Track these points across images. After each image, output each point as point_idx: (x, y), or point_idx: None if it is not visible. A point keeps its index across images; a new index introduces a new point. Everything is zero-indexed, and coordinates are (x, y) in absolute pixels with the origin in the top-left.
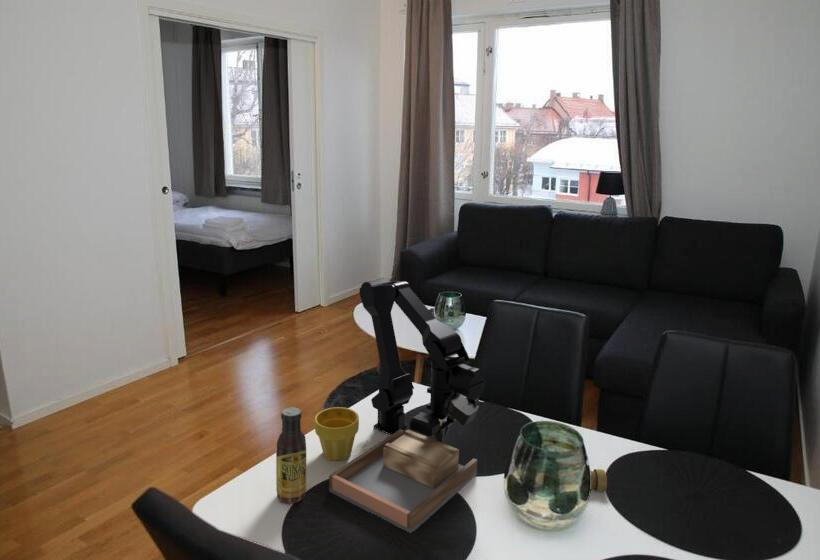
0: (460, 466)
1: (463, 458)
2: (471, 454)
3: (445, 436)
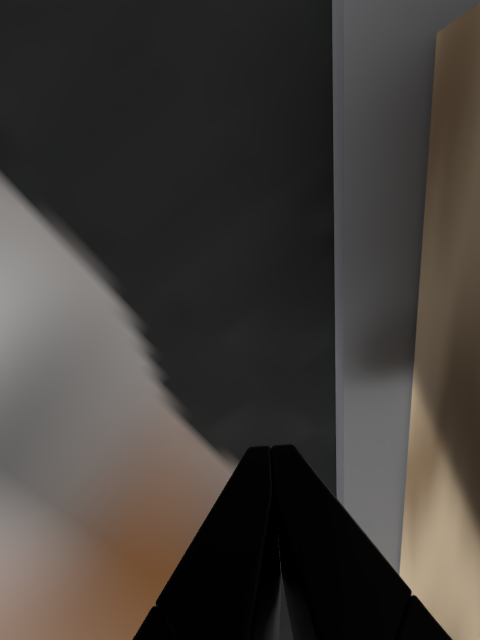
0: (379, 39)
1: (142, 190)
2: (15, 173)
3: (248, 530)
